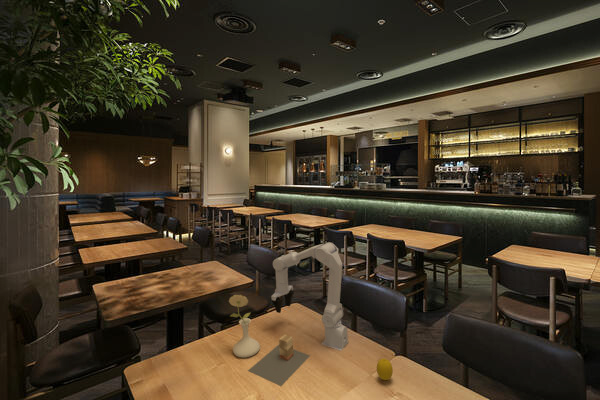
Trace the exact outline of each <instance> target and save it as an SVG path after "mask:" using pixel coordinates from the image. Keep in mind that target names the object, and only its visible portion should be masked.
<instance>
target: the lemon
mask: <svg viewBox="0 0 600 400" xmlns="http://www.w3.org/2000/svg"><path fill="white" fill-rule="evenodd" d="M376 364H377V365H376V372H377V376H378V377H379V378H380V379H381V380H383V381H389V380H390V379H391V378H392V376H393V372H394V371H393V365H392V363H391V361H390V360H388V359H387V358H380V359H378V361H377V363H376Z"/></svg>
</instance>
